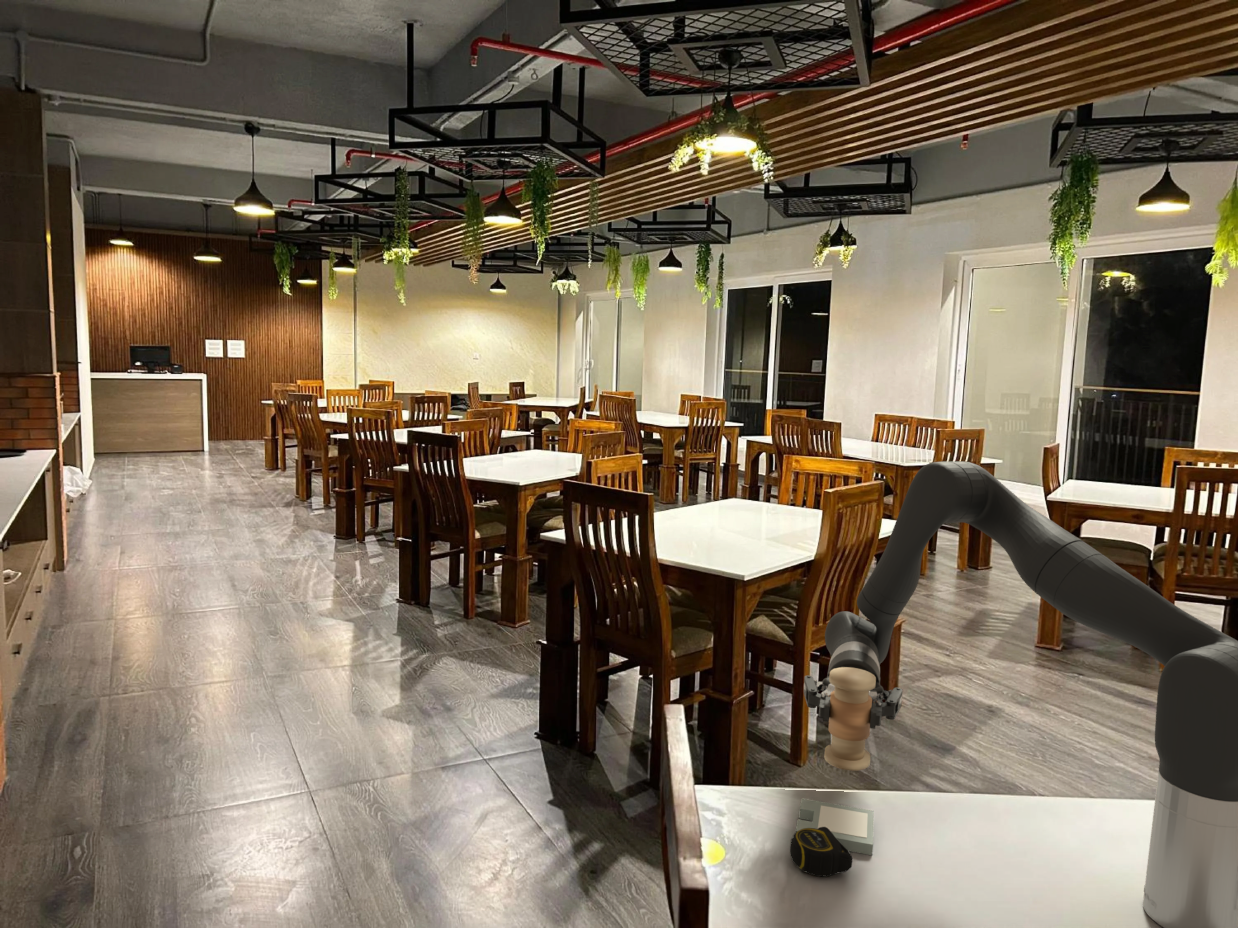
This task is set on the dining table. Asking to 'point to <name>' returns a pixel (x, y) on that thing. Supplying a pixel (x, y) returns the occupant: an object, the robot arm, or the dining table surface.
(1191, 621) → the robot arm
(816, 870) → the tape measure
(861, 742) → the bobbin
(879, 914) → the dining table surface
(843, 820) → the plate
